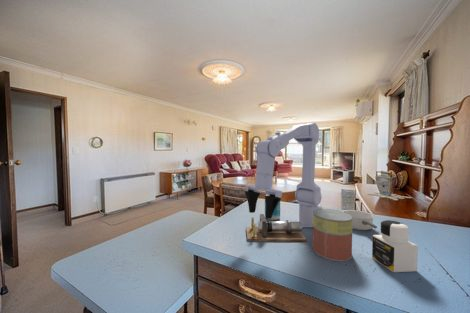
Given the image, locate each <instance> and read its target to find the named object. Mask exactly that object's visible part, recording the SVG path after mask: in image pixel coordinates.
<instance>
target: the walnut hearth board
mask: <svg viewBox="0 0 470 313" xmlns="http://www.w3.org/2000/svg"><path fill="white" fill-rule="evenodd" d="M250 227H251V226H246V227H245V232H246V239H247V242H288V243H289V242H292V243H293V242H295V243H296V242H299V243H301V242H302V243H303V242H305V243H307V242H308V240H307V237H306V236H304V234H303V233H302V231H301V232H291V233H287V232H267V237H262V232H259V231H258V226H255V235H257V237H252V235H253V230H250Z"/></svg>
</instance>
